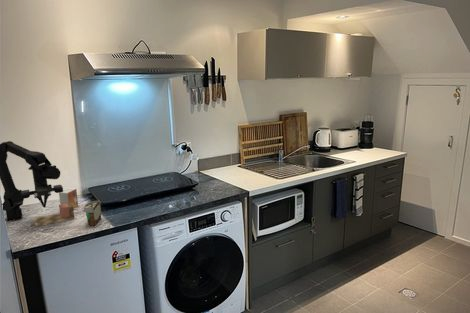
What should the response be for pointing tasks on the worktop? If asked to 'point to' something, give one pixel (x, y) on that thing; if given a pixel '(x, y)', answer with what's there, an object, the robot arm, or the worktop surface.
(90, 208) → the food container
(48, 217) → the rail
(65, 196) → the small box
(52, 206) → the worktop surface
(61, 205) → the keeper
